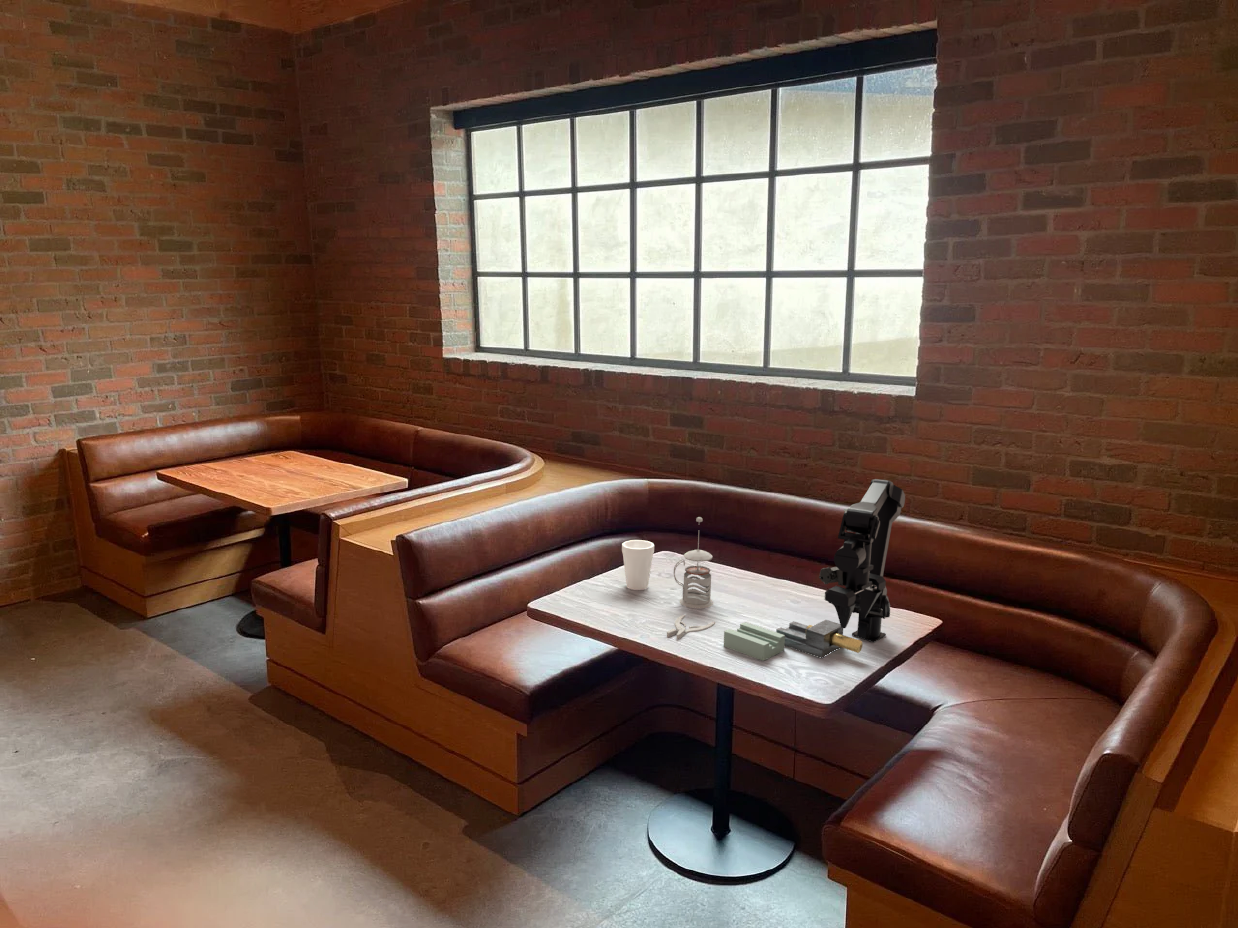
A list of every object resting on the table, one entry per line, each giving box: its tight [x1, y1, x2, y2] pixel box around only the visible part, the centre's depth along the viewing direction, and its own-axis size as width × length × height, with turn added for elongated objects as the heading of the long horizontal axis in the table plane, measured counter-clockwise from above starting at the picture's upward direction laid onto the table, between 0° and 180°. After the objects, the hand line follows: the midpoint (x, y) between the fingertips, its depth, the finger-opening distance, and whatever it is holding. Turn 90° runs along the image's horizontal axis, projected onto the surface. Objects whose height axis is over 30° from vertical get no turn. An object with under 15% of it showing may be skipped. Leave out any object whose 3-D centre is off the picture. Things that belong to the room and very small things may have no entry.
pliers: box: [666, 614, 716, 640], centre depth 228 cm, size 10×2×15 cm
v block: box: [723, 621, 785, 662], centre depth 216 cm, size 9×12×4 cm
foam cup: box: [621, 539, 655, 591], centre depth 259 cm, size 10×9×13 cm
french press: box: [673, 516, 715, 610], centre depth 245 cm, size 10×12×25 cm
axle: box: [806, 624, 864, 654], centre depth 214 cm, size 3×14×3 cm, turn 47°
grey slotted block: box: [775, 619, 844, 659], centre depth 219 cm, size 10×14×6 cm
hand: (853, 622), depth 209 cm, fingers open, 9 cm apart
